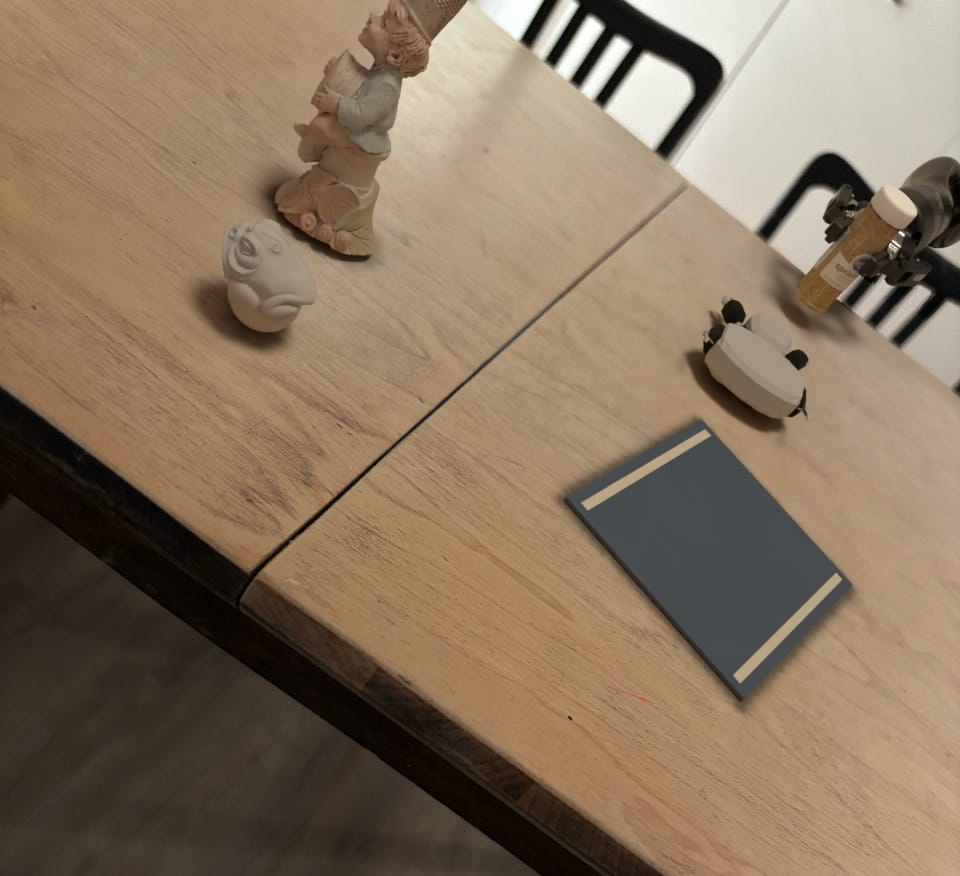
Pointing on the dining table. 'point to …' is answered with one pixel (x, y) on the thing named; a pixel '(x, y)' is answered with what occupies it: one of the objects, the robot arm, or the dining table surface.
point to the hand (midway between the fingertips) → (849, 250)
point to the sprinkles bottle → (855, 248)
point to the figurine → (359, 125)
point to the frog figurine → (265, 275)
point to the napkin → (713, 553)
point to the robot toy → (756, 362)
